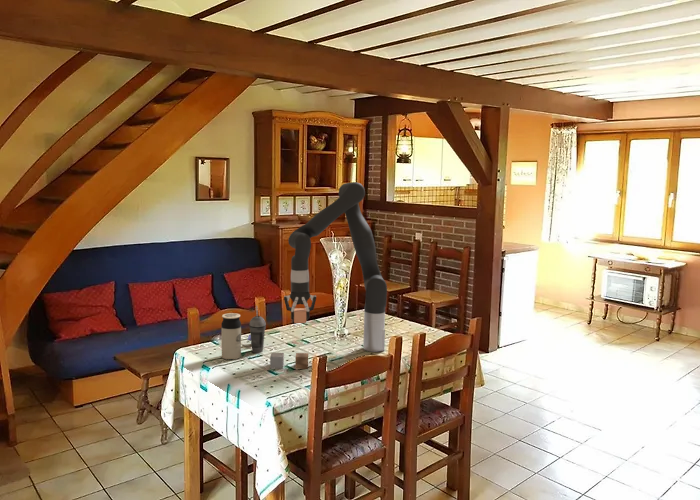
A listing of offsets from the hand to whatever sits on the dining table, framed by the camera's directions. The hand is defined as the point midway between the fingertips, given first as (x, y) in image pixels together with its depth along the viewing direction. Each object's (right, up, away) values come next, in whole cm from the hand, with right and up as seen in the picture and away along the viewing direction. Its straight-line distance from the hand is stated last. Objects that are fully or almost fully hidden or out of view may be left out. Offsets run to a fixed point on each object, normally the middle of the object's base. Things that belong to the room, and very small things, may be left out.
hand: (300, 319), depth 241 cm
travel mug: (-29, -16, +1) cm, 33 cm away
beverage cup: (-19, -15, +9) cm, 26 cm away
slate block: (-9, -18, -9) cm, 22 cm away
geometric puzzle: (-22, -14, +18) cm, 31 cm away
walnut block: (+1, -18, -9) cm, 20 cm away
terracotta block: (0, -1, 0) cm, 1 cm away
